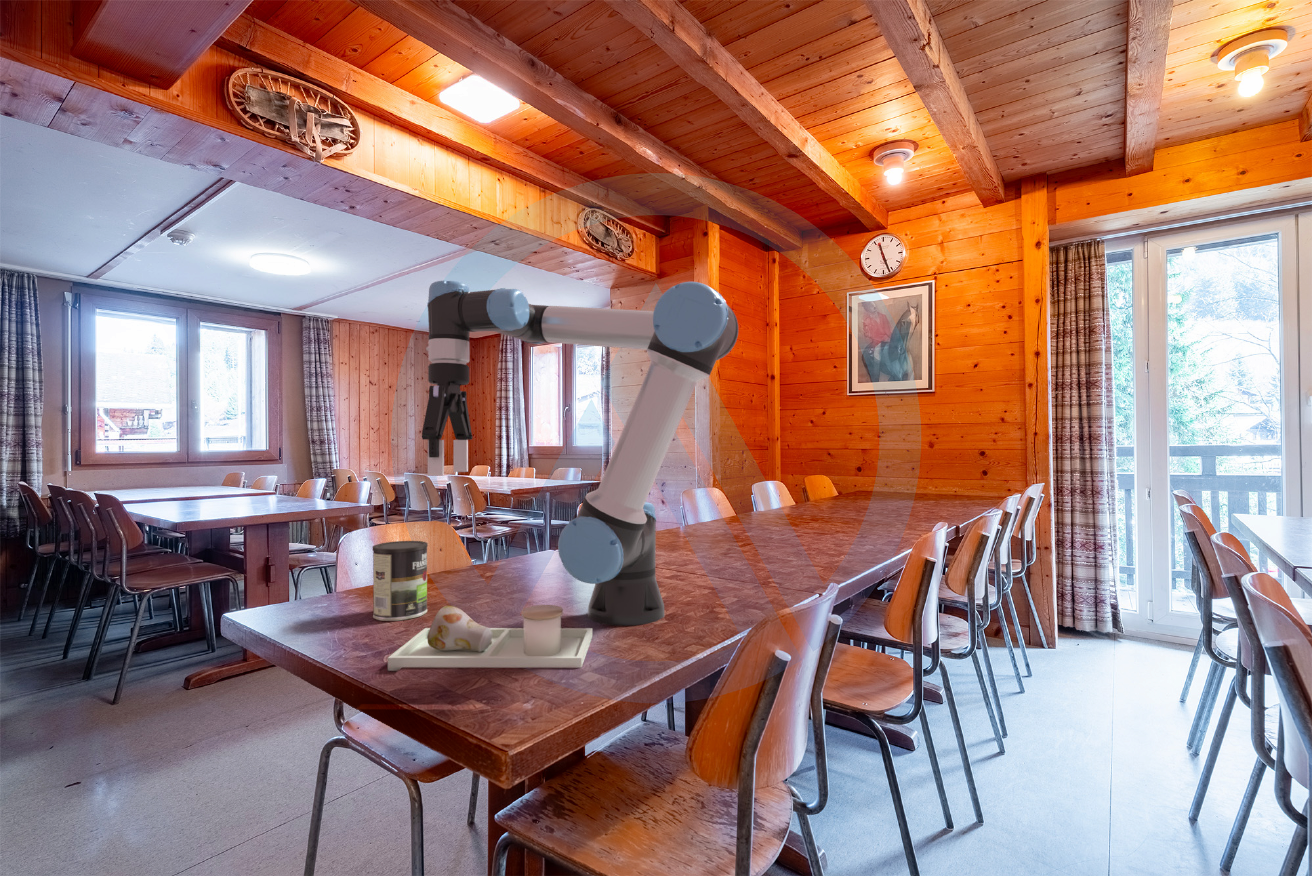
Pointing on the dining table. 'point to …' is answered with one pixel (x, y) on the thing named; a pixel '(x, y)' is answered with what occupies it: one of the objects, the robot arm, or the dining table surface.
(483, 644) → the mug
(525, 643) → the sugar pot
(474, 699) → the dining table surface
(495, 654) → the caddy
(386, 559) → the coffee can
